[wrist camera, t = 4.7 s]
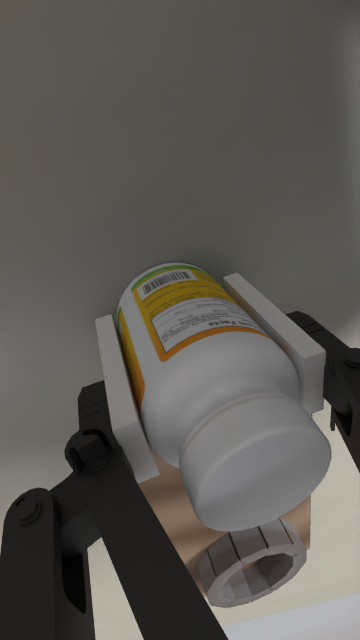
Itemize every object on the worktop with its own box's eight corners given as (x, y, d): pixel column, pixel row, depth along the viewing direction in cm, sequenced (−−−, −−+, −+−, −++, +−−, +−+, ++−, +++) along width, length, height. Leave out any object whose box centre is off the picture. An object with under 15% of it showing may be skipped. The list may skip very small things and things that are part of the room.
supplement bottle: (182, 369, 19) (270, 553, 11) (93, 334, 16) (124, 543, 8) (240, 290, 18) (392, 435, 9) (153, 238, 15) (261, 379, 7)
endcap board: (115, 437, 20) (124, 491, 17) (298, 367, 22) (334, 406, 19) (186, 584, 32) (198, 630, 29) (300, 532, 34) (323, 571, 31)
